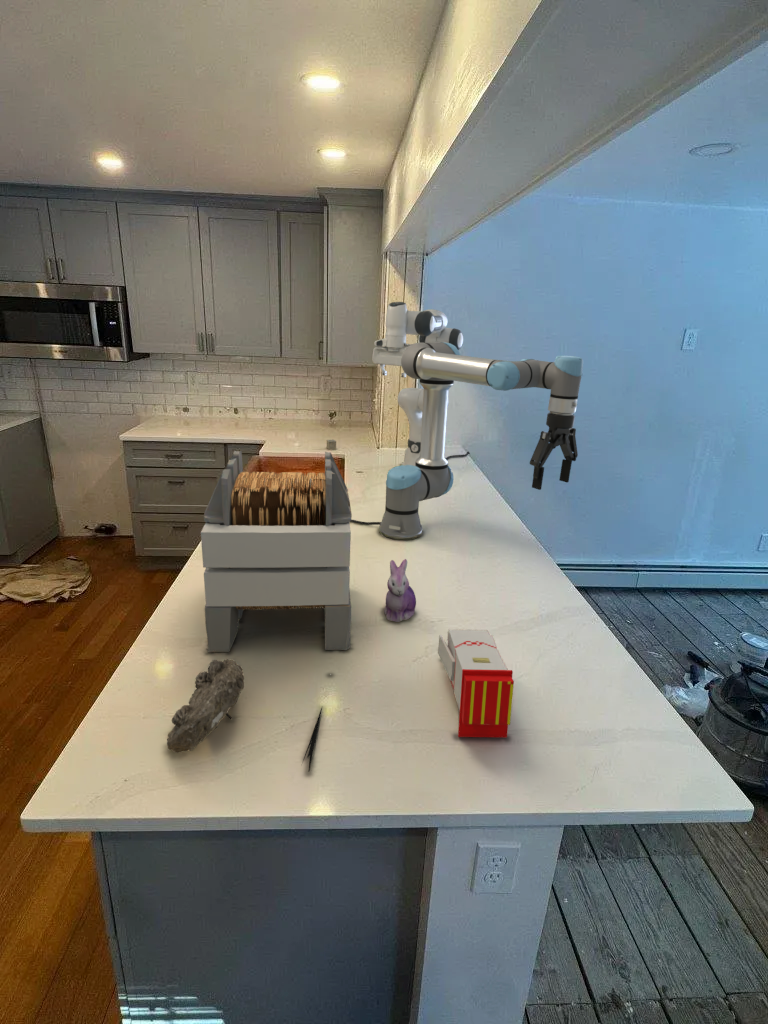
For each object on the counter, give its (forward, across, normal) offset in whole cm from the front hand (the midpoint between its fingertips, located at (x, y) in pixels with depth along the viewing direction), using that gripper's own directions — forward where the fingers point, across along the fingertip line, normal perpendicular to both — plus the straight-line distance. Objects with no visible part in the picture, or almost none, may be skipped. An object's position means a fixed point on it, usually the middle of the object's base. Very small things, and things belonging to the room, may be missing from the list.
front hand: (550, 484), depth 167 cm
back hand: (-19, +21, +98) cm, 102 cm away
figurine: (+28, -53, +4) cm, 60 cm away
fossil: (+28, -108, -4) cm, 111 cm away
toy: (+28, -62, -28) cm, 73 cm away
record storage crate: (+28, -78, +21) cm, 85 cm away
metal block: (+29, +34, +163) cm, 169 cm away
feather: (+28, -92, -17) cm, 97 cm away
